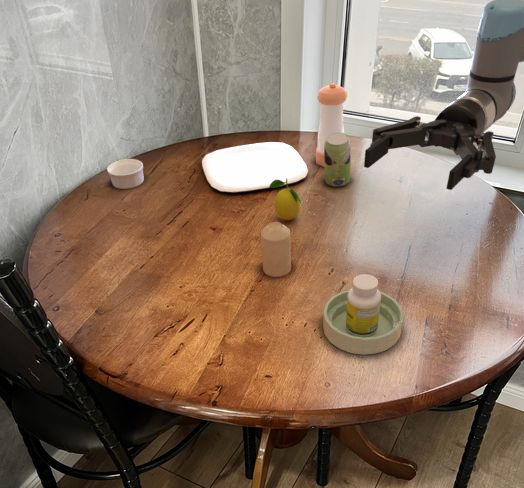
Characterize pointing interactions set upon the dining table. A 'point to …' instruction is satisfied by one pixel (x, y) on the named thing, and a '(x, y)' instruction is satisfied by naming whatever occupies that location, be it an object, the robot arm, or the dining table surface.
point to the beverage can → (337, 159)
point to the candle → (276, 249)
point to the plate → (253, 167)
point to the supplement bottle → (363, 306)
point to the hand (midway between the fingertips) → (406, 169)
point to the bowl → (372, 344)
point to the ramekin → (126, 173)
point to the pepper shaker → (329, 116)
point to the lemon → (286, 201)
